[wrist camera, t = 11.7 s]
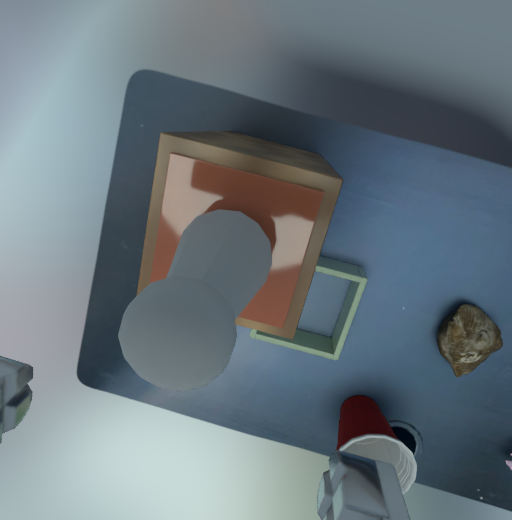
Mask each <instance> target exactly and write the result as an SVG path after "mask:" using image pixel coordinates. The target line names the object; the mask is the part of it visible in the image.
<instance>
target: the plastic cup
mask: <svg viewBox="0 0 512 520" xmlns="http://www.w3.org/2000/svg"><path fill="white" fill-rule="evenodd" d="M337 450H340V451H343V452H347V453H351V454H355V455H358V456H362V457H366V458H369V459H374V460H378V461H382V462H386V463H390V464H392V465H393V466H394V467H395V470H396V473H397V477H398V480H399V483H400V487H401V490H402V493H403V494H404V493H406V492H407V491H408V490H409V488H410V487H411V485H412V484H413V482H414V481H415V479H416V471H417V464H416V461H415V459H414V456H413V454H412V452H411V451H410V450H409V449H408V448H407V447H406V446H405V445H404V444H403V443H402V442H401V441H400V440H399V439H397V437H396V435H395V434H394V432H393V430H392V428H391V427H390V425H389V423H388V422H387V420H386V418H385V416H384V415H383V414H382V412H381V411H380V409H379V407H378V405H377V404H376V403H375V402H374V401H373V400H372V399H371V398H369V397H366V396H361V395H356V396H353V397H350V398H348V399H347V400H345V401H344V403H343V405H342V407H341V412H340V420H339V431H338V445H337Z"/></svg>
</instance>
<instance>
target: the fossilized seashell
mask: <svg viewBox="0 0 512 520" xmlns="http://www.w3.org/2000/svg"><path fill="white" fill-rule="evenodd" d="M437 343H438V347H439V351H440V354H441V355H442V356H443V357H444V358H445V359H446V360H447V361H448V362H449V364H450V365H451V367H452V369H453V371H454V374H455V376H456V377H459V376H461V375H463V374H468V373H470V372H471V371H473V370H474V369H475V368H476V367H477V366H478V365H480V364H481V363H482V362H484V361H485V360H486V359H487V357H488V356H489V355H490V354H491V353H493V352H495V351H497V350H499V349H500V348H501V347H502V346H503V342H502V338H501V331H500V330H499V328H498V327H497V325H496V324H495V323H494V322H493V321H492V320H491V319H490V318H489V317H488V316H487V315H486V314H485V312H483V311H482V310H481V309H479V307H477V306H475V305H470V304H464V305H461V306H459V307H458V309H457V310H455V311H454V312H452V313H451V314H450V315H448V317H447V318H446V319H445V320H444V322H443V323H442V324H441V326H440V328H439V330H438V335H437Z"/></svg>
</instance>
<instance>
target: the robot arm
mask: <svg viewBox="0 0 512 520" xmlns="http://www.w3.org/2000/svg"><path fill="white" fill-rule="evenodd" d="M32 378H33V367H31V366H30V365H28V364H25V363H22V362H18V361H15V360H12V359H8V358H5V357H2V356H0V443H1V442H2V433H5V432H7V431H9V430H12V429H14V428H15V427H16V426H17V425H18V424H19V423H20V422H21V421H22V419H23V418H24V416H25V415H26V413H27V411H28V409H29V407H30V403H31V400H32V391H31V389H30V387H29V386H28V384H27V383H28V382H29V381H30V380H32ZM317 513H318V514H319V516H320V518H321V520H410V517H409V514H408V510H407V507H406V504H405V500H404V497H403V493H402V490H401V487H400V483H399V480H398V477H397V473H396V470H395V467H394V466H393V465H392V464H390V463H386V462H382V461H378V460H374V459H369V458H366V457H362V456H358V455H355V454H351V453H347V452H343V451H340V450H336V449H335V450H334V451H333V452H332V454H331V456H330V459H329V470H328V471H326V472H324V473H323V476H322V478H321V481H320V485H319V490H318V497H317Z"/></svg>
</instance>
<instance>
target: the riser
mask: <svg viewBox="0 0 512 520" xmlns="http://www.w3.org/2000/svg"><path fill="white" fill-rule="evenodd" d="M171 152H175V153H179V154H183V155H187V156H191V157H195V158H198V159H202V160H206V161H210V162H214V163H218V164H222V165H225V166H229V167H233V168H237V169H241V170H245V171H249V172H252V173H256V174H260V175H264V176H268V177H272V178H276V179H279V180H283V181H287V182H291V183H295V184H299V185H303V186H306V187H310V188H314V189H318V190H322V191H324V195H323V198H322V201H321V205H320V208H319V211H318V215H317V218H316V221H315V225H314V228H313V231H312V235H311V238H310V241H309V244H308V248H307V251H306V254H305V258H304V261H303V264H302V268H301V271H300V274H299V278H298V281H297V284H296V287H295V291H294V294H293V297H292V301H291V304H290V307H289V311H288V314H287V317H286V321H285V324H284V327H283V328H279V327H275V326H271V325H267V324H264V323H260V322H256V321H252V320H249V319H245V318H241V317H237V318H236V319H235V324H236V325H240V326H243V327H247V328H251V329H255V330H258V331H262V332H266V333H270V334H273V335H277V336H281V337H285V338H288V339H293V338H294V335H295V332H296V329H297V326H298V322H299V319H300V316H301V313H302V310H303V307H304V303H305V300H306V297H307V294H308V291H309V288H310V284H311V281H312V278H313V275H314V272H315V269H316V265H317V262H318V259H319V256H320V253H321V250H322V246H323V243H324V240H325V237H326V234H327V231H328V227H329V224H330V221H331V218H332V215H333V212H334V208H335V205H336V202H337V199H338V196H339V193H340V190H341V186H342V183H343V179H342V178H341V176H340V175H339V174H338V173H337V172H336V171H335V170H334V169H333V168H332V167H331V165H330V164H329V163H328V162H327V161H326V160H325V159H324V158H323V157H322V156H321V154H317V153H313V152H310V151H306V150H302V149H298V148H294V147H290V146H286V145H282V144H278V143H275V142H271V141H267V140H263V139H259V138H255V137H251V136H247V135H243V134H240V133H236V132H232V131H203V132H161V133H160V139H159V146H158V153H157V159H156V166H155V173H154V180H153V187H152V194H151V200H150V207H149V214H148V221H147V228H146V235H145V242H144V248H143V255H142V262H141V269H140V276H139V283H138V289H137V296H138V295H139V294H140V292H141V291H142V290H143V289H144V288H145V287H147V286H148V285H149V284H150V277H151V271H152V264H153V258H154V252H155V245H156V239H157V233H158V226H159V220H160V213H161V207H162V201H163V194H164V188H165V182H166V175H167V169H168V163H169V156H170V153H171ZM137 296H136V297H137Z"/></svg>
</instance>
